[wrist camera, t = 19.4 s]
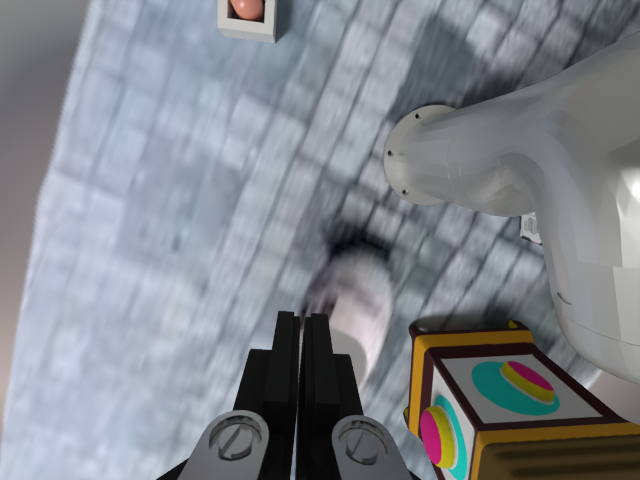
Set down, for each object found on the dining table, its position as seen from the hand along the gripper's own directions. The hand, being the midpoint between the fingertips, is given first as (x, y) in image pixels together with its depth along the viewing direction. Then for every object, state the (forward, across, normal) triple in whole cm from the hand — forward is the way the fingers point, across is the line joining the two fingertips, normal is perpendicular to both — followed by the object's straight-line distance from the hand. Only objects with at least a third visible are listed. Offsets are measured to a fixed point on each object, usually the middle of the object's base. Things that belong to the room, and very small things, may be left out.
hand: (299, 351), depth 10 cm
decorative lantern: (+32, -27, +24) cm, 49 cm away
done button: (+32, +8, -22) cm, 39 cm away
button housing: (+32, +8, -22) cm, 40 cm away
